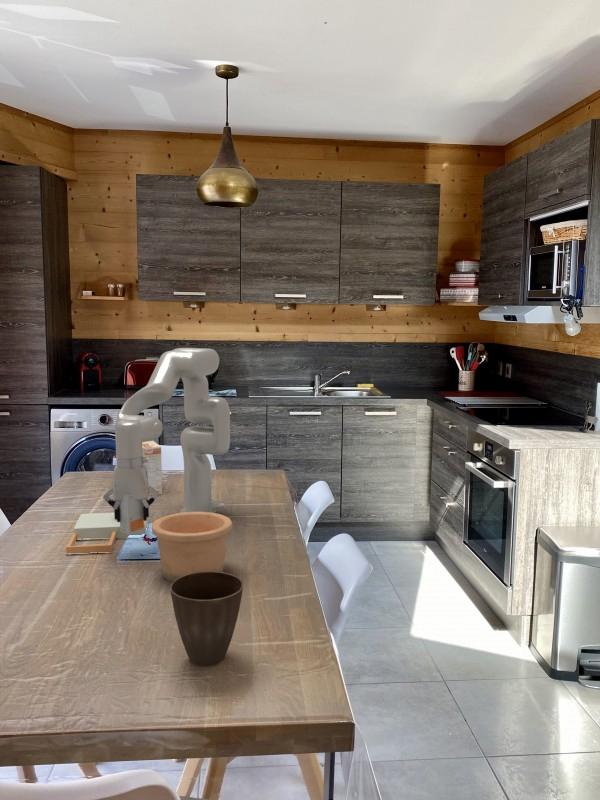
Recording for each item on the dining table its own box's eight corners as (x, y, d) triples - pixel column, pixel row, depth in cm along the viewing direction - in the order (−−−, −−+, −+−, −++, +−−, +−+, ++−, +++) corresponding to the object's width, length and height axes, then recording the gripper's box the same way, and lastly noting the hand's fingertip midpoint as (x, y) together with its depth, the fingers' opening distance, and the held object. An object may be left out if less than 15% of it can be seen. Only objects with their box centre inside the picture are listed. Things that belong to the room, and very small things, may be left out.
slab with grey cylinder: (148, 522, 235) (147, 494, 234) (142, 551, 207) (141, 519, 206) (81, 525, 232) (80, 496, 231) (66, 555, 203) (65, 522, 202)
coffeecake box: (136, 487, 281) (135, 441, 279) (154, 486, 284) (153, 439, 282) (144, 496, 268) (143, 447, 265) (162, 494, 271) (161, 446, 268)
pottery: (155, 592, 177) (154, 538, 175) (150, 562, 198) (149, 514, 196) (238, 584, 183) (238, 532, 181) (225, 555, 204) (224, 508, 202)
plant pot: (245, 640, 152) (244, 570, 150) (241, 675, 137) (241, 599, 135) (177, 641, 151) (175, 571, 149) (166, 676, 136) (164, 600, 134)
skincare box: (129, 534, 202) (127, 495, 200) (120, 531, 204) (118, 493, 202) (145, 529, 206) (143, 490, 204) (136, 526, 209) (134, 488, 207)
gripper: (160, 458, 207) (162, 514, 210) (100, 460, 204) (103, 517, 207) (159, 464, 200) (161, 522, 202) (97, 466, 197) (100, 526, 200)
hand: (132, 519), depth 205 cm, fingers closed on skincare box, 7 cm apart
